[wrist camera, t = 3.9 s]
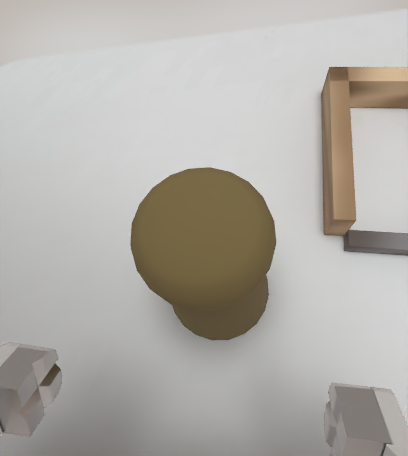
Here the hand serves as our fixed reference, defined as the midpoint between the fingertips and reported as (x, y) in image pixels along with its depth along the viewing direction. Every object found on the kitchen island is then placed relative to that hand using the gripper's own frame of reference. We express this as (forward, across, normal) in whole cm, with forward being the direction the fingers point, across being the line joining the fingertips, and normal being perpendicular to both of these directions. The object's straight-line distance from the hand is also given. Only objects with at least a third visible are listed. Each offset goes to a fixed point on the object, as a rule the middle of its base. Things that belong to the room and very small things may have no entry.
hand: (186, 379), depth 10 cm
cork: (+11, 0, +4) cm, 11 cm away
